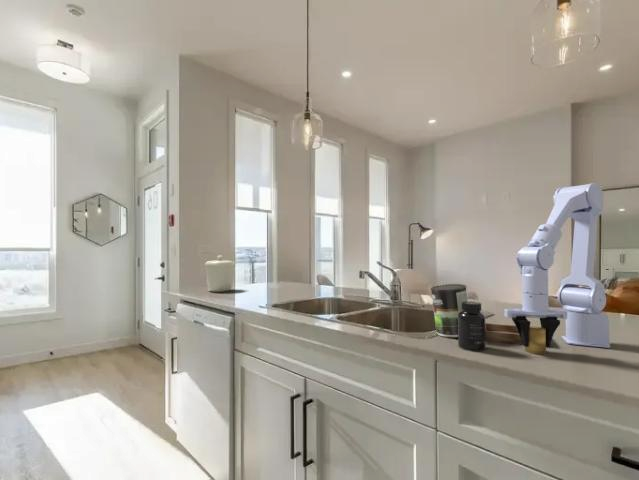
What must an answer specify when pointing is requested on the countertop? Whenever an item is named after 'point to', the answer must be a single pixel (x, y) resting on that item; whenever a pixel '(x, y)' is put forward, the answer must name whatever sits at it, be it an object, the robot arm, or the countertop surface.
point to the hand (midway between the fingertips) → (535, 346)
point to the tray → (502, 333)
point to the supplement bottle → (471, 327)
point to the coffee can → (448, 307)
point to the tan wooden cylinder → (537, 340)
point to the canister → (219, 274)
